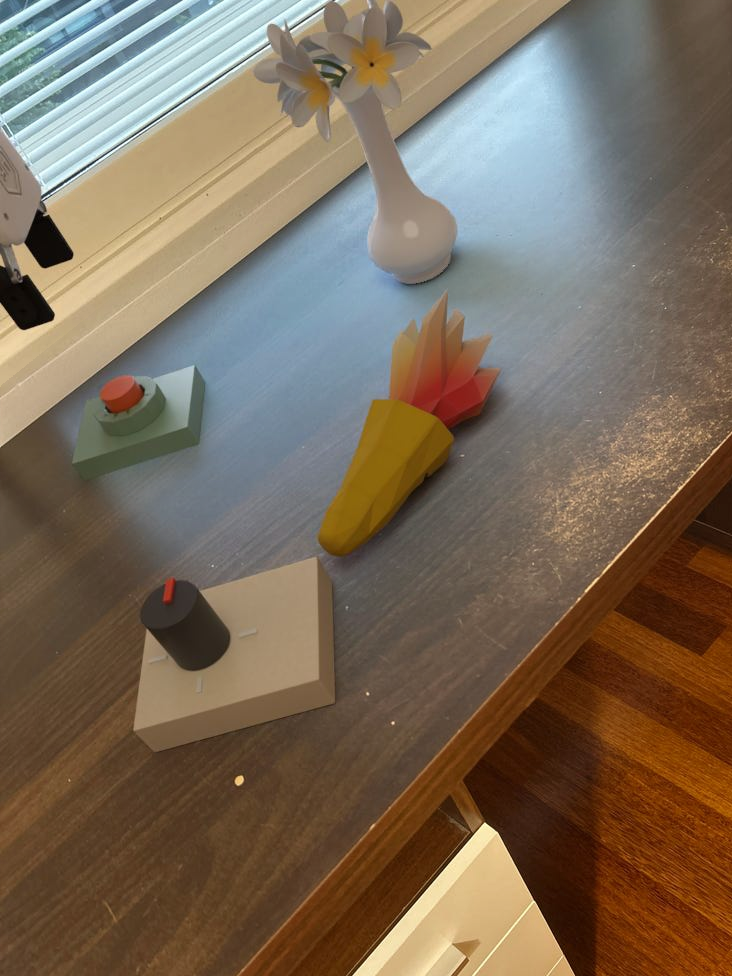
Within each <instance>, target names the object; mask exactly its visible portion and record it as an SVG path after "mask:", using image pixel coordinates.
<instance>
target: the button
mask: <svg viewBox="0 0 732 976" xmlns="http://www.w3.org/2000/svg"><path fill="white" fill-rule="evenodd" d="M133 377H134V376H132V375H129V374H128V375H120V376H118V377H115V378H113V379H112V380H110V381H109V382H107V383H106V384H105V385H104V386H103V387H102V388H101V390H100V392H99V396H100V397H101V399H102V400H103V402H104V403H105V405H106V406H107V407H108V409H109V410H110V412H111V413H114V414H117V413H120V412H124V411H127V410H129V409H130V408H132V407H133V406H135V405H136V404H138V402H139V401H140V400H141V399H142V398H143V396H144V393H143V391H142V390H141V388H140V387H139V385H138V384H137V382H136V381H135V379H134V378H133Z"/></svg>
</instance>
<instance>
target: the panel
mask: <svg viewBox="0 0 732 976" xmlns="http://www.w3.org/2000/svg"><path fill="white" fill-rule="evenodd" d="M199 591H200V592H201V594H202V595H203V596H204V598H205V599H206V600H207V602H208V603H209V604H210V606H211V607H212V608H213V610H214V611H215V612H216V614H217V615H218V616H219V618H220V619H221V620H222V622H223V623H224V624H225V626H226V627H227V628H228V630H229V632H230V643H229V646H228V648H227V650H226V651H225V653H224V654H223V655H222V657H221V658H220V659H218V660H217V661H216V662H215V663H213V664H212V665H210V666H208V667H206V668H204V669H201V670H195V671H189V670H185V669H183V668H181V667H179V666H178V664H177V663H176V662H175V661H174V660H173V659H172V657H171V656H170V655H169V654H168V653H167V652H166V650H165V649H164V648H163V647H162V646H161V645H160V643H159V642H158V641H157V640H156V639H155V637H154V636H153V635H152V634H151V633H150V632H149V630H148V629H147V628H146V631H145V637H144V646H143V654H142V660H141V661H142V662H141V669H140V676H139V684H138V691H137V692H138V693H137V698H136V706H135V713H134V722H133V729H132V730H133V732H134V733H135V734H136V735H137V737H139V738H140V739H141V741H143V742H144V743H145V745H146V746H148V747H149V748H150V750H152V751H153V752H154V753H158V752H162V751H165V750H169V749H174V748H177V747H180V746H184V745H187V744H192V743H196V742H199V741H202V740H205V739H209V738H213V737H217V736H220V735H224V734H229V733H231V732H235V731H239V730H242V729H246V728H250V727H253V726H257V725H261V724H264V723H268V722H272V721H276V720H279V719H282V718H287V717H290V716H294V715H297V714H301V713H305V712H308V711H311V710H312V711H313V710H316V709H319V708H322V707H323V708H324V707H326V706H330V705H334V704H336V679H335V677H336V675H335V673H336V672H335V639H334V638H335V637H334V601H333V599H334V598H333V597H334V596H333V581H332V579H331V577H330V575H329V574H328V572H327V570H326V568H325V567H324V566H323V563H322V562H321V560H320V559H319V557H318V556H313V557H310V558H307V559H303V560H300V561H297V562H293V563H290V564H287V565H283V566H280V567H276V568H273V569H269V570H267V571H263V572H260V573H256V574H253V575H249V576H246V577H243V578H240V579H236V580H233V581H229V582H226V583H222V584H219V585H216V586H212V587H209V588H206V589H202V590H199Z"/></svg>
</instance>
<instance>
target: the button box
mask: <svg viewBox="0 0 732 976" xmlns="http://www.w3.org/2000/svg"><path fill="white" fill-rule="evenodd" d="M132 377H133V378H134V379H135V381H136V382H137V384H138V385H139V387H140V388H141V390H142V391H143V393H144V396H143V398H142V399H141V400H140V401H139V402H138V404H136V405H135V406H133V407H132V408H130V409H129V410H127V411H124V412H120V413H117V414H114V413H111V412H110V410H109V409H108V407H107V406H106V405H105V403H104V402H103V400H102V399H101V397H100V395H99V396H96V397H93V398H90V399H87V400H86V401H85V404H84V408H83V413H82V417H81V421H80V425H79V430H78V434H77V439H76V443H75V447H74V451H73V456H72V459H71V460H72V461H71V465H72V467H73V468H74V469H75V471H76V472H77V473H78V474H79V476H80V477H81V478H82V480H83V481H88V480H92V479H94V478H98V477H100V476H103V475H106V474H107V475H108V474H109V473H113V472H116V471H119V470H122V469H126V468H129V467H132V466H134V465H138V464H142V463H144V462H147V461H150V460H153V459H156V458H160V457H163V456H167V455H170V454H173V453H176V452H179V451H182V450H185V449H187V448H191V447H195V446H198V445H199V444H200V437H201V427H202V426H201V425H202V417H203V408H204V399H205V390H206V389H205V388H206V381H205V378H204V377H203V375H202V374H201V373H200V371H199V369H198V368H197V366H196V364H193V365H190V366H186V367H183V368H180V369H178V370H174V371H171V372H168V373H166V374H162V375H159V376H157V377H154V378H152V377H151V376H145V375H144V376H142V375H136V376H132Z"/></svg>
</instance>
